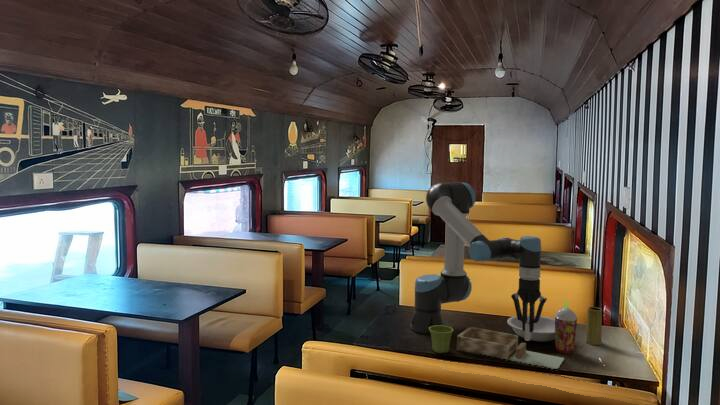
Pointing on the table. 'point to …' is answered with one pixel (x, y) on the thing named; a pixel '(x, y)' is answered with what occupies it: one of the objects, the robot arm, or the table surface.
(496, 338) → the box
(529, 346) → the table surface
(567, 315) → the smoothie
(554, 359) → the cover plate
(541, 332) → the soup bowl
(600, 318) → the vase
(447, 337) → the plant pot
